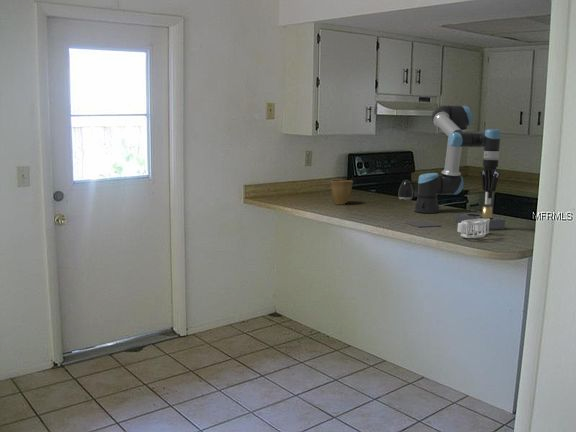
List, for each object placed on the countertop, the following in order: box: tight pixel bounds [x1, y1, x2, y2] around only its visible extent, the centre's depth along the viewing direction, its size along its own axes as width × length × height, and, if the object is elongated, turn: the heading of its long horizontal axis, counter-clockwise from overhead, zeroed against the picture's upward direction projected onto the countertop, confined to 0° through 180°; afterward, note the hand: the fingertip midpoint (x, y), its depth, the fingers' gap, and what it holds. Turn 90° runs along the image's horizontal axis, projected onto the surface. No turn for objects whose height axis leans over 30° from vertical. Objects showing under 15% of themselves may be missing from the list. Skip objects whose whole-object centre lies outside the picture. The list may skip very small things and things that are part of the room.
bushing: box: [481, 205, 493, 219], centre depth 317 cm, size 5×5×11 cm
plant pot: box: [330, 179, 354, 204], centre depth 397 cm, size 15×15×16 cm
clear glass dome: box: [397, 179, 414, 201], centre depth 420 cm, size 10×10×15 cm
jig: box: [455, 212, 506, 231], centre depth 323 cm, size 24×13×5 cm, turn 20°
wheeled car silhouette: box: [457, 219, 490, 239], centre depth 296 cm, size 20×11×7 cm, turn 122°
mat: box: [404, 220, 442, 228], centre depth 323 cm, size 14×14×1 cm
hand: (487, 204), depth 316 cm, fingers closed
